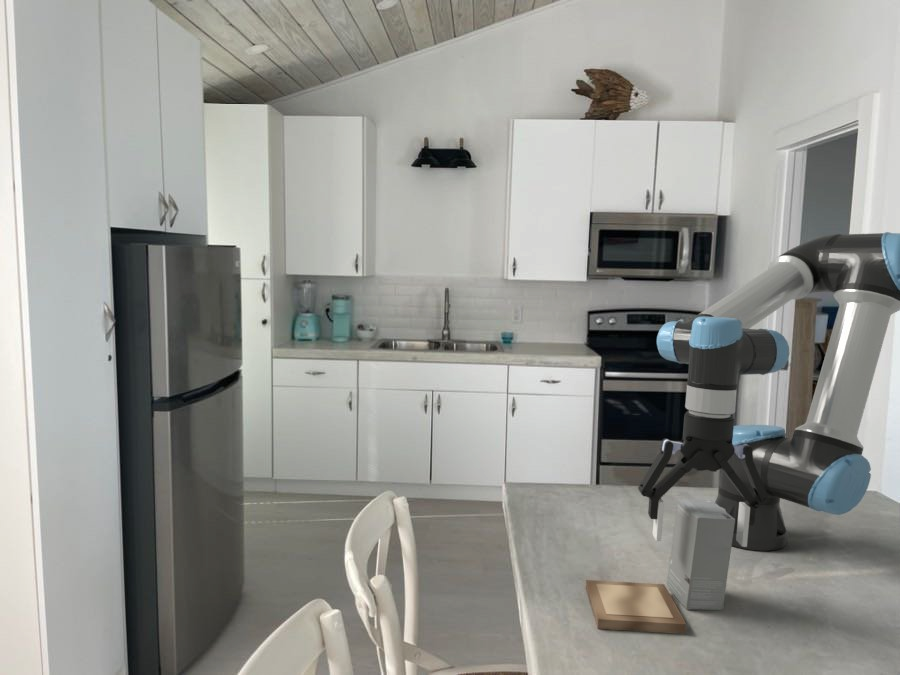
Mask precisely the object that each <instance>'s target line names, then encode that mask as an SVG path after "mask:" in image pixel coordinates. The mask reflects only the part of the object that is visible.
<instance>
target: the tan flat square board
mask: <svg viewBox="0 0 900 675" xmlns="http://www.w3.org/2000/svg"><path fill="white" fill-rule="evenodd" d="M585 592H586V595H587V598H588V602H589V604H590V608H591V611H592V615H593V618H594V622H595V625H596V627H597V629H599V630H615V631H631V632H632V631H634V632H646V633H647V632H649V633H664V634H665V633H666V634H667V633H668V634H682V635H686V634H687V623H686V621H685V619H684V617H683V616H682V614H681V612H680V610H679V609H678V607H677V604H676V603H675V600H674V599H673V597H672V596H671V594H670V592H669V589H668V587H667V586H666V585H665V584H664V583H651V582H650V583H649V582H628V581H610V580H593V579H586V580H585Z"/></svg>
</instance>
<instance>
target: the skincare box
mask: <svg viewBox="0 0 900 675" xmlns="http://www.w3.org/2000/svg"><path fill="white" fill-rule="evenodd" d="M734 525H735V519H734V518H733V517H732V516H730V515H729V514H728V513H727V512H726V510H725V509H724V508H722V507H720V506H718V505H717V504H716V503H715V500H712V499H694V498H677V503H676V512H675V518H674V525H673V534H672V539H671V540H672V541H671V548H670V556H669V563H668V564H669V565H668V570H667V572H668V573H667V578H666V588H667V590H670V592H671V593H672V594H673V595H674V596H675V598H676V599H677V600H678V601H679V602H680V603H681V605H682V606H683V607H684V608H685V609H686V610H708V611H709V610H711V611H716V610H717V611H720V610H723V609H724V604H725V597H726V596H725V595H726V590H727V582H728V574H729V566H730V559H731V552H732V551H731V550H732V547H733V546H732V539H733V532H734Z"/></svg>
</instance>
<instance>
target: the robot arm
mask: <svg viewBox="0 0 900 675" xmlns="http://www.w3.org/2000/svg"><path fill="white" fill-rule="evenodd" d="M828 292H829V293H833V298H834V299H835V301H836V302H837V304H838V305H839V306H838V310H837V313H836V317H835V319H834V323H833V327H832V330H831V335H830V336H829V337H830V339H829V340H828V344H827V348H826V352H825V356H824V360H823V362H822V366H821V370H820V371H819V372H820V374H819V376H818V380H817V383H816V387H815V390H814V394H813V397H812V400H811V404H810V407H809V411H808V414H807V417H806V421H805V423H804V424H802V425H799V426H797V427H795V428H794V431H793V435H792V437H791V438H789V437H786V436H787V433H786V429H785V428H784V427H783V426H778V425H769V424H768V425H767V424H739V425H735V418H734V417H733V416H732V415H734V414H735V412H736V405H737V402H736V401H737V390H738V389H737V388H738V378H739V376H741V375H743V376H744V375H745V376H747V375H761V376H765V375H768V374H772V373H776V372H779V371H780V370H782V369H783V368H784V367H785V366H786V365H787V363H788V361H789V357H790V345H789V343H788V340H787V339H786V338H785V336H784V335H783V334H782V333H780V332H778V331H776V330H772V329H767V328H757V329H756V328H755V329H754V328H753V327H754V326H755V325H757V324H758V323H760V322H762V320H764V319H766V318H767V317H769V316H770V315H772V314H773V313H774V312H776V311H777V310H779V309H780V308H782V307H783V306H785V305H786V304H788V303H789V302H790V301H791V300H801V299H803V298H805V297H806V296H808V295H810V294H813V293H815V294H816V293H828ZM897 312H900V232H898V233H897V232H896V233H895V232H890V231H885V232H883V233H882V232H881V233H877V232H876V233H855V234H854V233H850V234H848V233H847V234H845V233H844V234H839V233H838V234H837V233H835V234H828V235H822V236H820V237H819V236H818V237H816V238H813V239H810V240H807V241H805V242H804V243H800V244H799V245H796V246H794V247H792V248H791V249H789V250H787V251H786V252H783V253H781V254H780V255H779V256H777V257H776V258H774V259H773V260H772V261H771V262H770V263H769V265H768V269H766V270H765V271H763V272H762V273H760V274H758V275H757V276H756V277H754V278H752V279H751V280H749V281H748V282H746V283H745V284H743V285H741V286H740V287H739V288H736V289H735V290H734V291H732V292H731V293H729V294H728V295H726V296H724V297H723V298H721V299H720V300H718V301H717V302H715V303H714V304H712V305H711V306H709V307H707V308H706V309H704V310H703V311H702V312H700V313H698V314H697V315H695V316H693V317H692V318H691V319H688V320H687V321H682V320H677V321H676V320H675V321H668V322H666V323H664V324H663V325H662V326H661V328H660V329H659V331H658V333H657V336H656V347H657V350H658V353H659V355H660V356H661V357H662V358H664V359H665V360H666V361H670V362H675V363H678V364H681V365H682V364H686V365H688V371H687V373H688V375H687V382H686V393H685V404H684V407H685V409H686V410H687V411H686V412H685V413H684V415H683V416H684V417H683V427H682V428H683V429H682V430H683V431H682V438H681V441H673V440H670V439H668V438H663V439H662V441H661V446H660V449H659V450H660V451H659V452H658V454H657V456H656V458H655V459H654V461H653V462H652V464H651V466H650V467H649V469H648V470H647V472H646V474H645V476H644V477H643V479H642V480H641V482H640V483H639V485H638V488H637V489H638V491H639V493H640V494H641V495H642V496H643V497H646V498H648V510H647V514H648V517H649V518H650V519H651V520H653V521H652V522H653V525H652V536H653V538H654V539H655V541H656V542H662V535H663V523H664V511H665V510H664V508H665V502H664V500H663V499H662V497H664V496H665V494H666V493H668V492H669V490H671V488H673V486H675V484H677V483H678V482H679V481H680V479H682V478H683V477H684V476H685V475H686V474H687V473H690V472H691V470H693V469H694V470H695V471H697V472H698V471H700V472H703V471H709V472H715V473H716V472H717V471H719V476H718V477H719V478H718V490H717V496H716V499H715V500H714V502H715V503H716V504H717V505H718V506H720V507H722V508H724V509H725V510H726V512H727V513H728V514H729V515H730V516H732V517H733V518H734V519H735V525H734V532H733V539H732V546H731V547H734V548H735V547H736V548H740V549H745V550H751V551H762V552H763V551H776V550H780V549H783V548H784V547H786V545H787V536H788V532H787V531H788V530H787V528H786V524H785V519H784V516H783V513H782V509H781V504H780V503H781V499H782V500H785V501H788V502H791V503H794V504H797V505H800V506H803V507H807V508H809V509H811V510H814V511H816V512H823V513H827V514H831V515H836V516H837V515H844V514H846V513H847V514H848V513H849V512H851V511H852V510H853V509H854V508H856V506H858V505H859V503H861V501H862V499H863V498H864V497H865V495H866V493H867V491H868V488H869V486H870V481H871V478H872V477H871V476H872V474H871V470H872V468H871V464H870V462H869V460H868V459H867V457H865V456H863V451H864V445H863V444H862V443H861V441H860V440H859V438H858V433H859V429H860V426H861V422H862V419H863V416H864V412H865V410H866V405H867V401H868V398H869V395H870V394H869V393H870V390H871V388H872V383H873V380H874V376H875V372H876V369H877V365H878V361H879V358H880V355H881V351H882V349H883V348H882V347H883V344H884V340H885V336H886V334H887V331H888V326H889V323H890V319H891V316H892V315H893V314H895V313H897ZM678 451H680V453H681V454H682V456H681V457H680V458H679V459H678V460H677V461H676V463H675V465H674V466H673V467H672V468H671V469H670V470H669V471H668V472H667V473H666V474H665V475H664V476H663V477H662V478H661V479H659V478H660V476H661V475H662V473H663V472H664V470H665V468H666V467H667V465H668V464H669V462H670V460H671V458H672V456H673V455H676V452H678ZM658 480H659V481H658Z"/></svg>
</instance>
